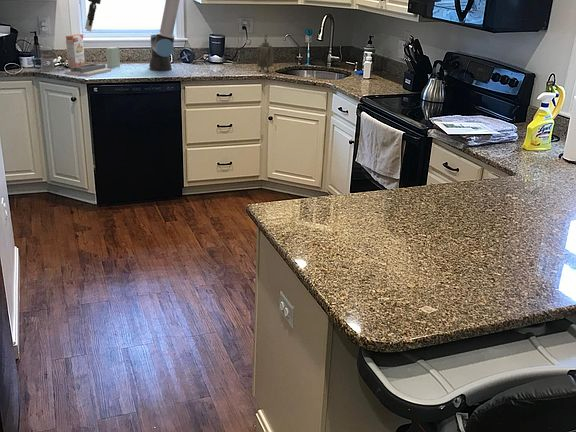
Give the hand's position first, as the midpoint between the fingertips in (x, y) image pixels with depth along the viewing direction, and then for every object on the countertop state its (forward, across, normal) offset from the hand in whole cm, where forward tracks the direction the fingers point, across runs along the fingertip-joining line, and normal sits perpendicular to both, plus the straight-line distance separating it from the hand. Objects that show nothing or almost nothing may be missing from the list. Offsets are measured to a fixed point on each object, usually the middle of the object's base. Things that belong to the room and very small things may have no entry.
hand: (87, 30), depth 394 cm
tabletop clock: (-7, +4, +121) cm, 121 cm away
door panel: (+21, -26, +24) cm, 41 cm away
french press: (+33, -16, -16) cm, 40 cm away
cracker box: (+28, -30, 0) cm, 40 cm away
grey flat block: (+26, -6, +6) cm, 28 cm away
